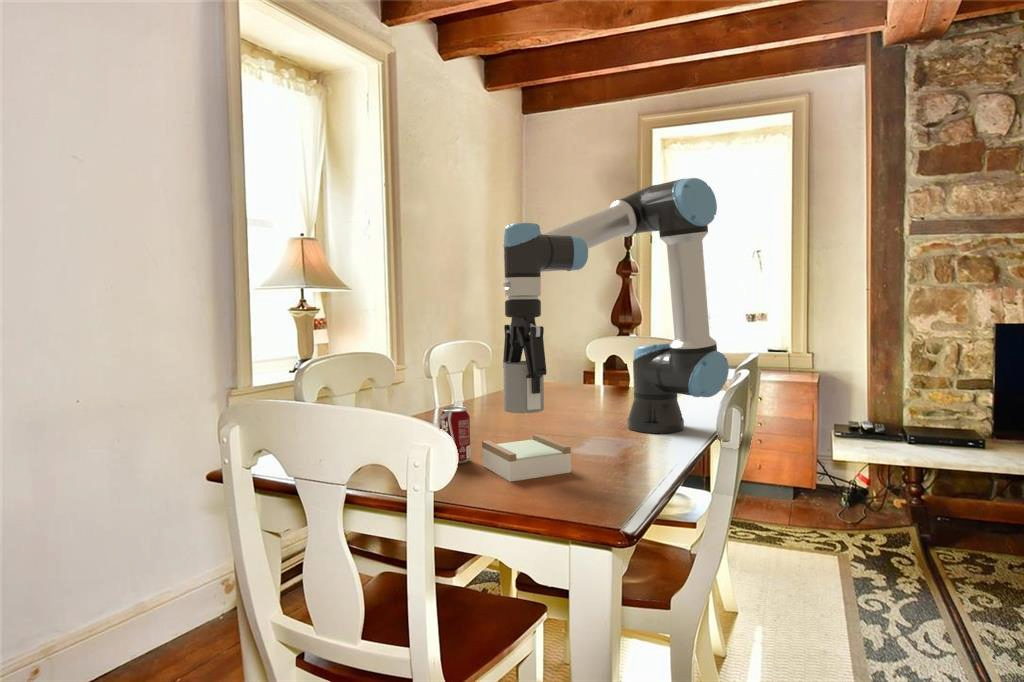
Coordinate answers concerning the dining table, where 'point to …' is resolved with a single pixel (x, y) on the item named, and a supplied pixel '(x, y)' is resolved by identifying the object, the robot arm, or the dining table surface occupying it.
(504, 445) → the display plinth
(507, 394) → the cup
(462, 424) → the soda can
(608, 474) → the dining table surface
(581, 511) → the dining table surface
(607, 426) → the dining table surface
